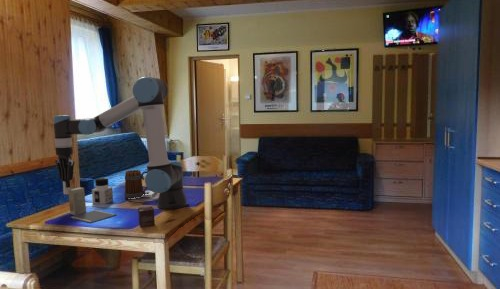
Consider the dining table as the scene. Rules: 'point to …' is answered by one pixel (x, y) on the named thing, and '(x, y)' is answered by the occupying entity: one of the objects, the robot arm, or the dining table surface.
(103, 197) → the container
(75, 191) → the skincare box
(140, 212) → the box
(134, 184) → the mug
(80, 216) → the mat
